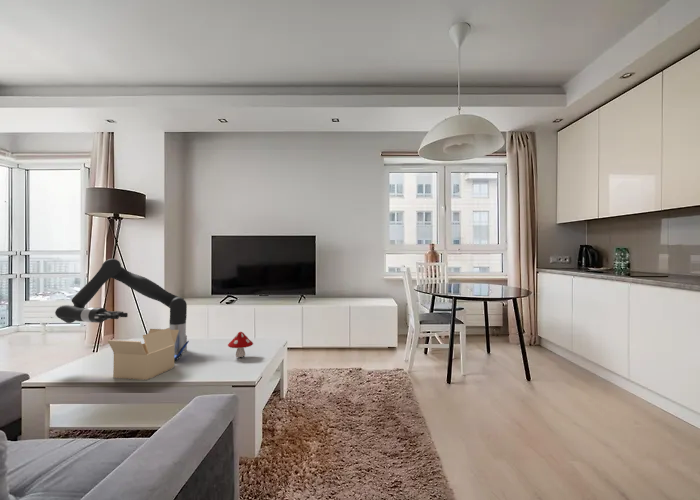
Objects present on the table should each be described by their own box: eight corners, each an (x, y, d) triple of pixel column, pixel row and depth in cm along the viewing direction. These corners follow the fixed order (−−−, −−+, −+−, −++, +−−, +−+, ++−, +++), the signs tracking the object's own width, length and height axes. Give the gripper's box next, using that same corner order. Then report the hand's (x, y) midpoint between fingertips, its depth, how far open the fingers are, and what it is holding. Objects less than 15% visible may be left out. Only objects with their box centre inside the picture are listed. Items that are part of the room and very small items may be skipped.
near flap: (168, 328, 191) (169, 327, 191) (173, 344, 190) (174, 344, 190) (142, 335, 172) (143, 335, 172) (148, 353, 172) (148, 353, 172)
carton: (148, 363, 198) (149, 328, 198) (179, 365, 195) (179, 329, 195) (105, 380, 170) (105, 340, 170) (140, 383, 167) (140, 341, 167)
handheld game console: (164, 357, 212) (164, 341, 213) (189, 355, 215) (189, 340, 216) (156, 364, 197) (156, 347, 197) (182, 363, 200) (183, 346, 200)
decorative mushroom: (222, 360, 205) (222, 333, 205) (235, 353, 218) (235, 328, 219) (244, 361, 202) (245, 334, 202) (256, 355, 215) (257, 329, 215)
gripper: (81, 309, 181) (111, 310, 178) (105, 306, 195) (133, 306, 192) (81, 324, 181) (111, 325, 178) (105, 320, 195) (133, 320, 192)
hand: (122, 315), depth 185 cm, fingers open, 5 cm apart
